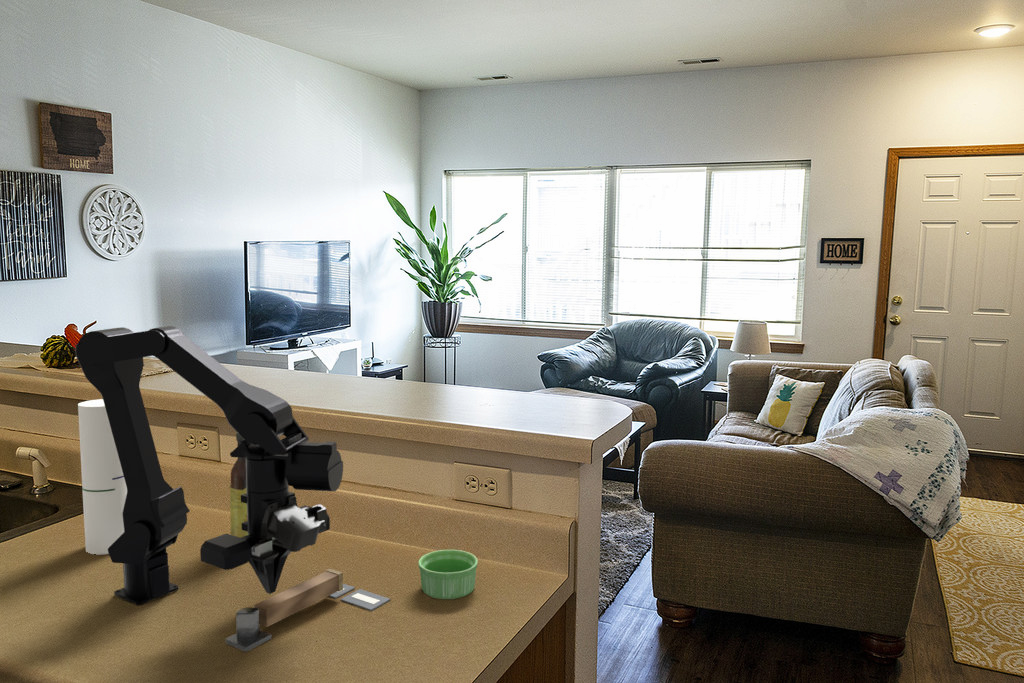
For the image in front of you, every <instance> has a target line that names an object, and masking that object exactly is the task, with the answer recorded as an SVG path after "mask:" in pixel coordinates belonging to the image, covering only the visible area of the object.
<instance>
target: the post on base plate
mask: <svg viewBox="0 0 1024 683" xmlns="http://www.w3.org/2000/svg"><path fill="white" fill-rule="evenodd" d="M235 613H236V614H235V622H236V633H235V634H232V635H230V636H228V637H226V638H225V639H224V640H225V643H224V644H227V645H228V646H231V647H233V648H235V649H238V650H240V651H243V652H244V653H247V652H249V651H251V650H253V649H254V648H256V647H259V646H260V645H262V644H264V643H266V642H267V641H270V640H272V634H271V633H269V632H267V631H264V630H262V629H261V628H260V626H261V624H259V609H257V608H254V606H253V607H244V608H241V609H239V610H237V611H236V612H235Z"/></svg>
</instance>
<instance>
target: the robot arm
mask: <svg viewBox="0 0 1024 683" xmlns="http://www.w3.org/2000/svg"><path fill="white" fill-rule="evenodd" d="M75 356H76V359H77V362H78V364H79V366H80V369H81V371H82V373H83V374H84V377H85V378H86V380H87V381H88V382H89V383H90V384H91V385H92V386H93V387H94V388H95V389H96V390H97V392H99V393H100V395H101V397H102V398H101V399H103V401H104V405H105V409H106V412H107V416H108V420H109V424H110V427H111V431H112V435H113V438H114V442H115V446H116V450H117V453H118V457H119V461H120V464H121V468H122V472H123V476H124V479H125V483H126V487H127V495H126V499H125V504H124V508H123V513H122V515H123V525H124V533H123V534H122V535H121V536H120V537H119V538H118V539H117V540H116V541H115V542H114V543H113V544H112V545H111V546H110V547H109V548H108V553H109V554H108V555H109V558H110V560H111V563H113V564H122V569H123V570H122V571H123V586H124V587H121V588H120V589H116V590H115V591H114V592H113V594H114V595H113V596H116V597H118V598H120V599H122V600H125V601H127V602H129V603H131V604H133V605H136V606H140V605H144V604H146V603H149V602H152V601H154V600H156V599H158V598H159V599H160V598H161V597H164V596H166V595H169V594H171V593H173V592H176V591H179V589H180V588H179V585H177V584H175V583H173V582H171V581H170V566H169V555H168V554H169V553H168V552H167V548H168V547H170V546H171V545H174V544H175V543H176V542H177V540H178V536H179V534H180V533H181V532H182V531H183V530H184V528H185V527H186V525H187V522H188V517H187V516H188V514H189V513H190V509H189V507H188V505H187V503H186V500H185V492H184V489H183V487H182V486H179V487H178V486H177V487H176V488H173V487H172V486H171V485H170V484H169V483H168V482H167V481H166V480H165V478H164V475H163V472H162V468H161V465H160V460H159V456H158V453H157V448H156V445H155V441H154V437H153V433H152V430H151V427H150V423H149V419H148V414H147V411H146V407H145V403H144V400H143V396H142V393H141V389H140V384H141V383H140V382H141V377H142V374H143V369H144V365H145V364H144V358H145V357H155V358H157V359H158V360H159V361H161V363H163V364H164V365H165V366H167V367H168V368H169V369H170V370H172V371H173V372H175V374H177V375H178V376H180V377H181V378H182V379H183V380H185V381H186V382H188V383H189V384H190V385H191V386H193V388H195V389H197V390H198V391H199V392H200V393H201V394H203V395H204V396H205V397H207V398H208V399H209V400H211V401H212V402H213V403H214V404H216V405H217V406H218V407H219V408H220V409H221V411H222V412H223V414H224V416H225V419H226V421H227V423H228V424H229V425H230V427H231V428H232V429H233V430H234V431H235V432H236V433H238V434H239V435H240V436H241V437H242V438H243V439H244V440H242V441H241V442H240V444H239V445H238V444H237V445H238V446H237V447H236V448H234V449H233V450H232V451H231V452H230V453H229V456H230V457H231V458H238V457H239V458H246V488H247V489H246V491H247V493H246V494H242V495H241V502H243V503H247V521H246V522H243V523H242V530H244V531H247V532H248V535H247V536H244V537H241V538H239V537H236V536H233V535H231V533H223V534H220V535H218V536H216V537H212V538H210V539H206V540H205V541H204V542H203V543H202V544H201V545H200V546H201V547H200V552H199V553H200V562H201V563H205V564H208V565H211V566H213V567H216V568H218V569H222V570H224V571H225V570H233V569H235V568H238V567H241V566H243V565H245V564H248V563H249V565H250V566H251V568H252V569H253V571H254V573H255V575H256V576H257V578H258V580H259V582H260V584H261V585H262V587H263V590H264V591H265V592H266V593H267V594H268V595H271V594H273V593H275V592H277V588H278V585H279V581H280V579H281V578H280V577H281V576H282V572H283V569H284V566H285V564H286V561H287V560H288V557H289V555H290V554H291V553H296V552H299V551H301V550H303V549H304V548H307V547H309V546H314V545H315V544H316V542H317V539H318V535H319V534H322V533H324V532H326V531H329V530H331V522H330V521H331V520H330V519H331V517H330V516H329V514H328V513H327V512H328V511H327V507H325V506H324V505H322V504H321V503H318V504H315V505H313V506H309V505H302V506H298V503H297V497H296V493H294V492H291V491H290V488H289V487H292V488H293V489H294V490H297V491H316V492H317V491H318V492H336V491H338V489H339V488H340V486H341V483H342V480H343V474H344V461H343V460H342V455H341V453H340V451H339V450H338V448H337V447H338V446H337V442H336V441H323V442H319V441H318V442H314V441H312V442H311V441H309V436H308V435H307V434H306V432H304V429H302V427H301V425H300V424H299V423H298V421H297V420H296V419H295V418H294V415H293V408H292V407H291V405H290V403H289V402H287V401H286V400H285V399H283V398H281V397H280V396H279V395H276V394H274V393H273V392H271V391H268V390H266V389H264V388H262V387H258V386H255V385H252V384H249V383H247V382H245V381H244V380H242V379H241V378H239V377H238V376H237V375H235V374H234V373H233V372H232V371H231V370H229V369H228V368H226V366H224V365H223V364H221V363H220V362H219V361H218V360H216V359H215V358H213V356H211V355H209V354H208V353H207V352H206V351H205V350H203V348H201V347H200V346H198V345H197V344H196V343H194V342H193V341H192V340H191V339H189V338H188V337H187V336H185V335H184V332H182V331H181V329H179V328H177V327H175V326H172V325H168V326H167V325H166V326H160V327H154V328H150V329H148V330H145V331H137V332H134V331H133V330H132V329H130V328H126V327H114V328H106V329H105V328H104V329H100V330H99V329H98V330H90V331H88V332H85V333H84V334H83V335H82V336H81V337H80V339H79V341H78V342H77V343H76V344H75ZM282 435H283V436H284V438H282V439H280V436H282Z"/></svg>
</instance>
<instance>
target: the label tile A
mask: <svg viewBox="0 0 1024 683" xmlns="http://www.w3.org/2000/svg"><path fill="white" fill-rule="evenodd" d="M355 589H356V587H355V586H352V585H348V584H347V583H343V590H341V591H337V592H335V593H333V594H331V595H329V596H328V597H331V598H333V599H337V598H339V597H340V598H341V597H342V596H344V595H345V594H347V593H350V592H351V591H353V590H355Z"/></svg>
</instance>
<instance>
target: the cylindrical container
mask: <svg viewBox="0 0 1024 683" xmlns="http://www.w3.org/2000/svg"><path fill="white" fill-rule="evenodd" d="M77 411H78V412H77V414H78V429H79V430H78V432H79V448H80V450H79V451H80V452H79V453H80V466H81V470H80V471H81V484H82V485H81V486H82V488H81V490H82V504H83V524H84V541H85V542H84V543H85V544H84V545H85V552H86V553H87V552H88V554H89V553H90V555H94V554H96V555H99V556H100V555H109V553H108V548H109V547H110V546H111V545H112V544H113V543H114V542H115V541H116V540H117V539H118V538H119V537H120V536H121V535H122V534H123V533H124V525H123V515H122V513H123V508H124V504H125V499H126V495H127V487H126V483H125V479H124V476H123V472H122V468H121V464H120V461H119V457H118V453H117V450H116V446H115V442H114V438H113V435H112V431H111V427H110V424H109V420H108V416H107V412H106V409H105V405H104V401H103V398H101V399H100V398H98V399H90V400H86V401H81V402H79V403H78V404H77Z"/></svg>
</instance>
